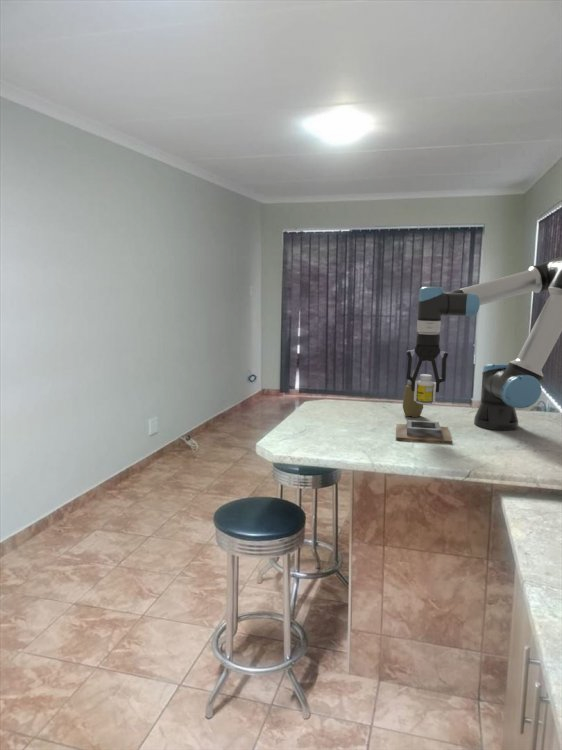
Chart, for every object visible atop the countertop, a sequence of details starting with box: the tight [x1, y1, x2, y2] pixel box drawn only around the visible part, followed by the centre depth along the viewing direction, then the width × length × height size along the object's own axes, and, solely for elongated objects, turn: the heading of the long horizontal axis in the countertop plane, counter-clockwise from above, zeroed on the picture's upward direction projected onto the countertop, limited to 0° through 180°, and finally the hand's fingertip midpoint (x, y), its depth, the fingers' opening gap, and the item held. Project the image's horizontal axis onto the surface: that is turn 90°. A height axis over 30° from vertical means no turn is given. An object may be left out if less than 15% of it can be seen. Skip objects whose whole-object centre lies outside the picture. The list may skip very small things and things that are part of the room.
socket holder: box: [395, 419, 453, 445], centre depth 185 cm, size 18×18×4 cm
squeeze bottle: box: [402, 370, 424, 418], centre depth 210 cm, size 8×8×18 cm
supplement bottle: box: [416, 373, 434, 406], centre depth 182 cm, size 5×5×10 cm
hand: (424, 400), depth 183 cm, fingers closed on supplement bottle, 5 cm apart
